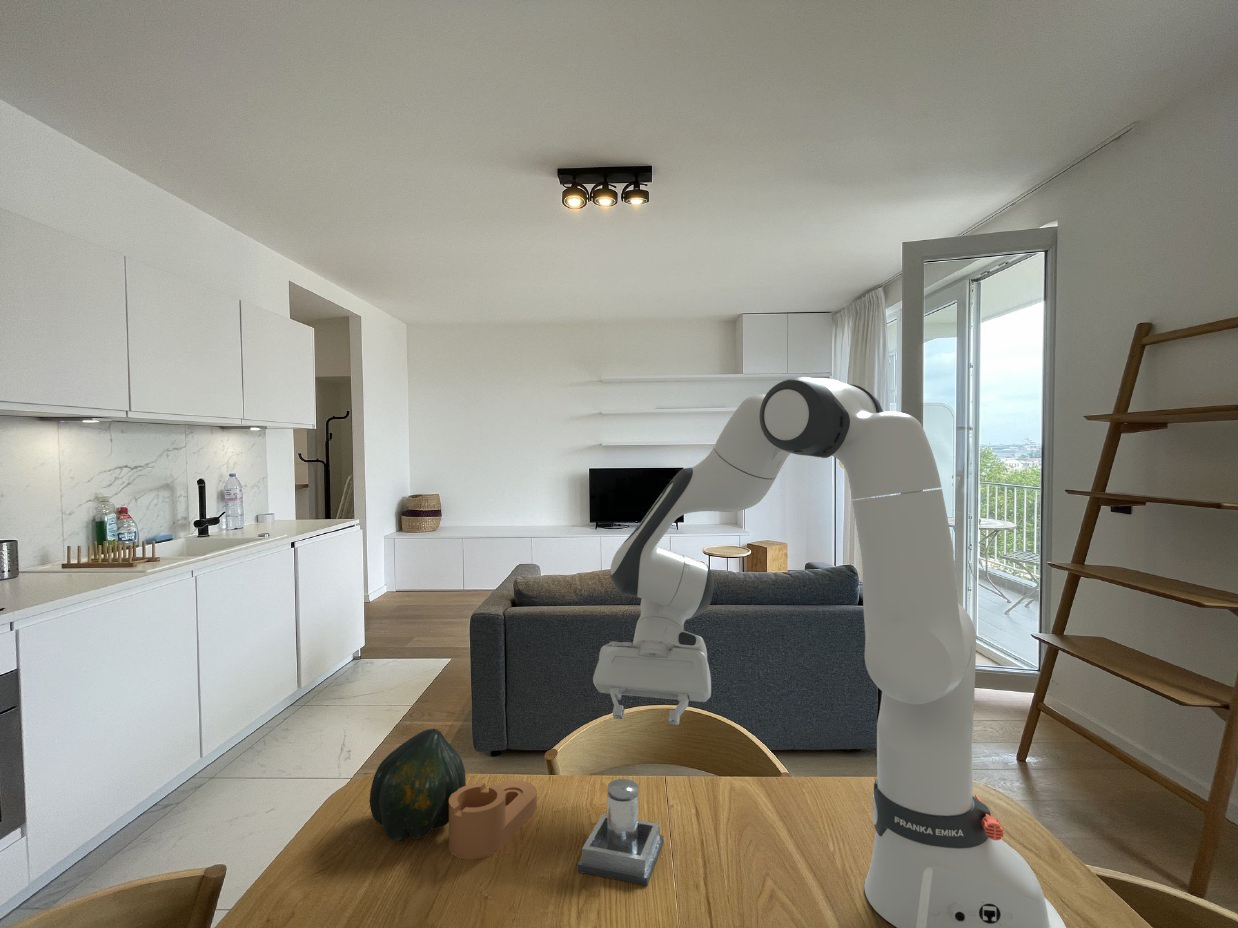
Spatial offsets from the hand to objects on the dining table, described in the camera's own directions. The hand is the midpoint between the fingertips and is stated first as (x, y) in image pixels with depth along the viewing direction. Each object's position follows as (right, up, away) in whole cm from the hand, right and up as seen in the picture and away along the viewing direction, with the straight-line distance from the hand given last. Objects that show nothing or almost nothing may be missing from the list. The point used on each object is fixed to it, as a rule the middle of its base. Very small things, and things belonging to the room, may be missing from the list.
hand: (645, 720), depth 101 cm
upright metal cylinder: (-4, -14, -12) cm, 19 cm away
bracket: (-24, -15, -4) cm, 29 cm away
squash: (-36, -15, -3) cm, 39 cm away
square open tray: (-4, -15, -12) cm, 19 cm away
